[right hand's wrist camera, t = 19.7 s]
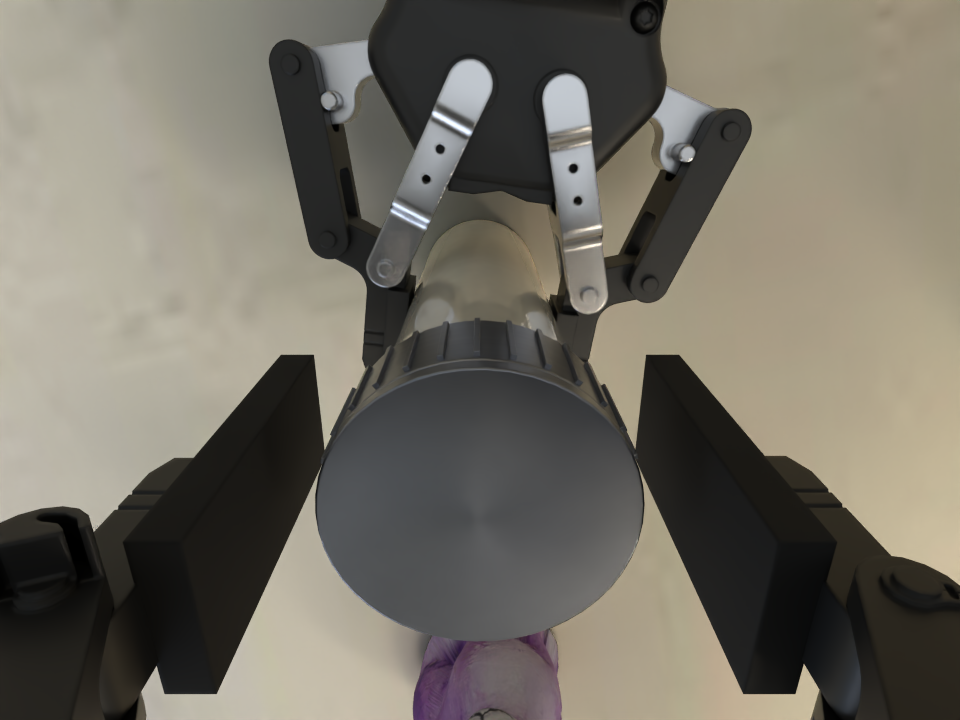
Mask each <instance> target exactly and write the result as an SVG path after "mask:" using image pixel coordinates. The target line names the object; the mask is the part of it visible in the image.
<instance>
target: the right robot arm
mask: <svg viewBox="0 0 960 720" xmlns="http://www.w3.org/2000/svg"><path fill="white" fill-rule="evenodd" d="M324 451H325V450H324V441H323V432H322V423H321V414H320V405H319V397H318V388H317V379H316V370H315V361H314V355H280V357H279V358H278V359H277V360H276V361H275V363H274V364H273V365H272V366H271V367H270V368H269V370H268V371H267V372H266V373H265V374H264V376H263V377H262V378H261V379H260V380H259V381H258V383H257V384H256V385H255V386H254V387H253V388H252V390H251V391H250V392H249V393H248V394H247V396H246V397H245V398H244V399H243V400H242V401H241V403H240V404H239V405H238V406H237V407H236V409H235V410H234V411H233V412H232V413H231V414H230V416H229V417H228V418H227V419H226V420H225V422H224V423H223V424H222V425H221V426H220V427H219V429H218V430H217V431H216V432H215V433H214V435H213V436H212V437H211V438H210V439H209V440H208V442H207V443H206V444H205V445H204V446H203V448H202V449H201V450H200V451H199V452H198V453H197V455H196V456H195V457H194V458H174V459H172V460H170V461H169V462H167V463H165V464H164V465H162V466H160V467H159V468H157V469H155V470H154V471H152V472H150V473H149V474H148V475H147V476H146V477H145V478H144V479H143V480H142V481H141V482H140V484H139V485H138V486H137V487H136V488H135V489H134V490H133V491H132V495H128V496H127V497H126V498H125V500H124V501H123V502H122V503H121V504H120V505H119V506H118V510H114V511H113V512H112V513H111V514H110V516H109V517H108V518H107V519H106V520H105V521H104V522H103V523H102V524H101V525H100V526H99V527H98V528H97V529H96V530H95V532H93V528H92V525H91V522H90V518H89V515H88V514H86V513H85V512H83V511H82V510H80V509H78V508H71V507H63V506H62V507H52V508H43V509H38V510H35V511H31V512H28V513H24V514H20V515H17V516H15V517H13V518H10V519H8V520H6V521H4V522H1V523H0V720H146V710H145V704H144V700H143V697H142V693H141V691H142V689H143V688H144V686H145V684H146V683H147V681H148V679H149V677H150V676H151V674H152V672H153V671H154V669H155V667H156V666H157V668H158V672H159V675H160V679H161V683H162V686H163V690H164V694H217V692H218V690H219V688H220V686H221V683H222V681H223V679H224V677H225V675H226V672H227V670H228V668H229V666H230V664H231V662H232V659H233V657H234V655H235V653H236V651H237V648H238V646H239V644H240V642H241V640H242V638H243V635H244V633H245V631H246V629H247V627H248V625H249V622H250V620H251V618H252V616H253V614H254V611H255V609H256V607H257V605H258V603H259V601H260V598H261V596H262V594H263V592H264V590H265V587H266V585H267V583H268V581H269V579H270V577H271V574H272V572H273V570H274V568H275V566H276V563H277V561H278V559H279V557H280V555H281V553H282V550H283V548H284V546H285V544H286V542H287V540H288V537H289V535H290V533H291V531H292V529H293V526H294V524H295V522H296V520H297V518H298V516H299V513H300V511H301V509H302V507H303V505H304V502H305V500H306V498H307V496H308V494H309V492H310V489H311V487H312V485H313V483H314V481H315V478H316V476H317V474H318V472H319V470H320V468H321V465H322V464H321V463H320V461H321V458H322V455H323V453H324ZM636 452H637V455H638V459H636V461H637V463H638V465H639V468H640V470H641V472H642V474H643V476H644V478H645V481H646V483H647V485H648V487H649V489H650V492H651V494H652V496H653V498H654V500H655V502H656V505H657V507H658V509H659V511H660V513H661V516H662V518H663V520H664V522H665V524H666V526H667V529H668V531H669V533H670V535H671V537H672V540H673V542H674V544H675V546H676V548H677V550H678V553H679V555H680V557H681V559H682V561H683V563H684V566H685V568H686V570H687V572H688V574H689V577H690V579H691V581H692V583H693V585H694V587H695V590H696V592H697V594H698V596H699V598H700V601H701V603H702V605H703V607H704V609H705V611H706V614H707V616H708V618H709V620H710V622H711V625H712V627H713V629H714V631H715V633H716V635H717V638H718V640H719V642H720V644H721V646H722V648H723V651H724V653H725V655H726V657H727V659H728V662H729V664H730V666H731V668H732V670H733V672H734V675H735V677H736V679H737V681H738V683H739V686H740V688H741V690H742V692H743V694H796V690H797V686H798V683H799V679H800V675H801V672H802V668H803V665H804V664H805V666H806V668H807V669H808V671H809V673H810V674H811V676H812V678H813V679H814V681H815V683H816V684H817V686H818V688H819V689H820V690H819V693H818V697H817V700H816V703H815V707H814V710H813V714H812V717H811V720H960V585H958V584H957V583H956V582H954V581H953V580H952V579H950V578H949V577H948V576H946V575H944V574H942V573H940V572H939V571H937V570H935V569H933V568H931V567H929V566H927V565H925V564H921V563H918V562H915V561H912V560H909V559H906V558H903V557H894V556H891V555H890V554H889V553H888V552H887V551H886V550H885V549H884V548H883V547H882V546H881V545H880V543H879V542H878V541H877V540H876V539H875V538H874V537H873V536H872V535H871V534H870V533H869V532H868V531H867V530H866V529H865V528H864V527H863V525H862V524H861V523H860V522H859V521H858V520H857V519H856V518H855V517H854V516H853V515H852V514H851V513H850V512H849V511H848V510H847V508H843V507H842V503H841V502H840V501H839V500H838V499H837V498H836V497H835V496H834V495H833V494H832V493H829V492H828V488H827V487H826V486H825V485H824V484H823V483H822V482H821V481H820V480H819V479H818V478H817V477H816V476H815V475H814V474H813V472H812V471H810V470H808V469H807V468H805V467H803V466H802V465H800V464H798V463H797V462H795V461H793V460H792V459H790V458H788V457H787V456H764V455H763V453H762V452H761V451H760V450H759V449H758V448H757V446H756V445H755V444H754V443H753V442H752V440H751V439H750V438H749V437H748V436H747V435H746V433H745V432H744V431H743V430H742V429H741V427H740V426H739V425H738V424H737V423H736V422H735V420H734V419H733V418H732V417H731V416H730V414H729V413H728V412H727V411H726V410H725V409H724V407H723V406H722V405H721V404H720V403H719V401H718V400H717V399H716V398H715V397H714V396H713V394H712V393H711V392H710V391H709V390H708V388H707V387H706V386H705V385H704V384H703V383H702V381H701V380H700V379H699V378H698V377H697V376H696V374H695V373H694V372H693V371H692V370H691V368H690V367H689V366H688V365H687V364H686V363H685V361H684V360H683V359H682V358H681V357H680V355H646V361H645V370H644V379H643V388H642V397H641V405H640V414H639V423H638V432H637V441H636Z"/></svg>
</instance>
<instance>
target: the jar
mask: <svg viewBox="0 0 960 720" xmlns="http://www.w3.org/2000/svg"><path fill="white" fill-rule="evenodd" d="M474 318H480V320H487V321H497V322H506V320H510V321H512V324H515V325H519V326H523V327H526V328H529V329H532V330H534V331H536V329H537V328H538V329H540V330H542V332H543V334H544V335H546V336H548V337H550V338H552V339H554V340H556V341H557V342H559V343H560V344H562V345H563V344H564V342H563V339H562V337H561V334H560V331H559V329H558V326H557V323H556V321H555V318H554V315H553V313H552V310H551V307H550V305H549V302H548V299H547V297H546V294H545V291H544V289H543V286H542V283H541V281H540V278H539V275H538V273H537V270H536V267H535V265H534V262H533V259H532V257H531V254H530V251H529V249H528V248H527V246H526V244H525V243H524V241H523V240H522V239H521V238H520V237H519V236H518V235H517V234H516V233H515V232H514V231H513V230H511V229H510V228H508V227H506V226H504V225H502V224H500V223H497V222H493V221H488V220H472V221H467V222H463V223H460V224H458V225H456V226H454V227H452V228H450V229H449V230H448V231H446V232H445V233H444V234H443V235H442V236H441V237H440V238H439V239H438V240H437V241H436V243H435V244H434V246H433V248H432V249H431V252H430V254H429V257H428V259H427V262H426V265H425V267H424V270H423V273H422V275H421V278H420V281H419V283H418V286H417V288H416V291H415V294H414V296H413V299H412V302H411V304H410V307H409V310H408V312H407V315H406V318H405V320H404V323H403V326H402V328H401V331H400V334H399V336H398V339H397V342H396V344H395V346H396V345H398V344H399V343H401V342H403V341H404V340H406V339H408V338H409V337H411V336H412V334H413V332H415V331H417V330H418V331H419V333H420V332H423V331H425V330H427V329H430V328H434V327H437V326H441V325H442V324H443V322H445V321H448V322H449V323H455V322H462V321H474Z"/></svg>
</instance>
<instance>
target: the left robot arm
mask: <svg viewBox="0 0 960 720" xmlns="http://www.w3.org/2000/svg"><path fill="white" fill-rule="evenodd" d="M666 4H667V0H387V1H386V4H385V6H384V8H383V10H382V12H381V14H380V16H379V17H378V19H377V21H376V22H375V23H374V25H373V27H372V29H371V32H370V35H369V39H368V40H360V41H353V42H345V43H337V44H330V45H322V46H315V47H310V46H307V45H305V44H302V43H300V42H298V41H295V40H289V39H288V40H283V41H280V42H278V43H277V44H276V45H275V46H274V47H273V49H272V50H271V53H270V57H269V66H270V71H271V75H272V80H273V84H274V89H275V93H276V98H277V102H278V107H279V111H280V116H281V120H282V125H283V129H284V134H285V138H286V143H287V147H288V152H289V156H290V161H291V165H292V170H293V174H294V179H295V183H296V188H297V192H298V197H299V201H300V206H301V210H302V215H303V219H304V224H305V228H306V233H307V237H308V242H309V245H310V247H311V249H312V250H313V251H314V252H315V253H316V254H317V255H318V256H320V257H322V258H325V259H337V260H339V261H341V262H343V263H345V264H347V265H349V266H351V267H353V268H354V269H356V270H357V271H358V272H359V273H360V274H361V275H362V277H363V278H364V280H365V282H366V286H367V299H366V313H365V328H364V330H365V331H364V344H363V356H362V360H363V362H364V365H365V368H366V367H367V366H368V365H370V366H373V365H374V364H375V363H376V362H377V361H378V360H379V359H380V358H381V357H382V356H383V355H384V354H385V352H386V350H387V348H388V347H389V346H390V345H392V347H395V344H396V342H397V339H398V336H399V334H400V331H401V328H402V326H403V323H404V320H405V318H406V315H407V312H408V310H409V307H410V304H411V302H412V299H413V296H414V294H415V285H416V276H414V275H410V273H411V262H412V259H413V257H414V255H415V253H416V251H417V249H418V247H419V244H420V242H421V240H422V238H423V236H424V234H425V232H426V230H427V228H428V226H429V223H430V221H431V219H432V217H433V215H434V213H435V211H436V209H437V207H438V205H439V202H440V200H441V198H442V196H443V194H444V192H445V190H446V188H447V187H449V189H448V190H449V191H456V192H463V193H470V194H478V193H486V192H494V191H504V192H506V193H508V194H510V195H513V196H515V197H517V198H520V199H522V200H524V201H526V202H533V203H540V204H547V207H548V213H549V219H550V224H551V228H552V232H553V237H554V243H555V250H556V256H557V262H558V269H559V275H560V284H559V289H558V294H557V295H551V294H550V299H549V305H550V307H551V310H552V313H553V315H554V318H555V321H556V323H557V326H558V329H559V331H560V334H561V337H562V339H563V342H564V343H566V344H568V345H569V347H570V350H571V351H572V352H573V353H574V354H575V355H576V356H577V357H578V358H579V359H580V360H582V361H583V362H584V363H586V362H587V361H588V359H589V355H590V351H591V346H592V342H593V337H594V333H595V328H596V324H597V320H598V318H599V316H600V314H601V313H602V312H603V311H604V310H605V309H606V308H608V307H609V306H611V305H613V304H617V303H621V302H626V301H631V300H636V299H637V300H638V301H640V302H644V303H651V302H655V301H657V300H659V299H660V298H662V297H663V296H664V295H665V293H666V292H667V290H668V288H669V286H670V284H671V282H672V281H673V279H674V277H675V275H676V273H677V271H678V270H679V268H680V266H681V264H682V262H683V260H684V258H685V257H686V255H687V253H688V251H689V249H690V247H691V246H692V244H693V242H694V240H695V238H696V236H697V234H698V233H699V231H700V229H701V227H702V225H703V223H704V222H705V220H706V218H707V216H708V214H709V212H710V210H711V209H712V207H713V205H714V203H715V201H716V199H717V198H718V196H719V194H720V192H721V190H722V188H723V186H724V185H725V183H726V181H727V179H728V177H729V175H730V174H731V172H732V170H733V168H734V166H735V164H736V162H737V161H738V159H739V157H740V155H741V153H742V151H743V150H744V148H745V146H746V144H747V142H748V140H749V138H750V135H751V131H752V125H751V121H750V118H749V117H748V115H747V114H746V113H745V112H743V111H741V110H739V109H728V108H713V107H711V106H709V105H707V104H705V103H703V102H701V101H698V100H696V99H694V98H692V97H690V96H688V95H686V94H684V93H682V92H679V91H677V90H675V89H673V88H671V87H669V86H667V75H666V69H665V66H664V62H663V58H662V53H661V43H660V36H661V26H662V21H663V17H664V13H665V8H666ZM374 78H376V80H377V82H378V84H379V85H380V87H381V89H382V91H383V93H384V95H385V96H386V98H387V100H388V102H389V104H390V106H391V107H392V109H393V111H394V113H395V115H396V117H397V118H398V120H399V122H400V124H401V126H402V128H403V130H404V131H405V133H406V135H407V137H408V139H409V141H410V142H411V144H412V146H413V148H414V150H415V152H414V154H413V157H412V159H411V161H410V163H409V166H408V168H407V170H406V172H405V175H404V177H403V179H402V181H401V183H400V186H399V188H398V190H397V192H396V195H395V197H394V199H393V202H392V204H391V208H390V211H389V213H388V216H387V218H386V220H385V222H384V224H383V227H382V229H380V228H378V227H377V226H375V225H373V224H371V223H369V222H367V221H365V220H363V219H361V214H360V208H359V203H358V198H357V192H356V187H355V182H354V176H353V171H352V165H351V160H350V155H349V149H348V144H347V139H346V133H345V128H344V124H346V123H349V122H351V121H353V120H354V119H355V118H356V117H357V116H358V114H359V112H360V109H361V93H362V90H363V88H364V86H365V85H366V83H367V82H368V81H370V80H371V79H374ZM648 120H649V121H650V122H651V124H652V125H653V128H654V131H655V140H654V144H653V147H652V152H651V155H652V160H653V162H654V164H655V165H656V166H657V167H658V168H659V169H661V170H660V172H659V174H658V176H657V178H656V180H655V182H654V184H653V186H652V188H651V190H650V192H649V194H648V196H647V198H646V200H645V202H644V204H643V206H642V208H641V210H640V212H639V214H638V216H637V218H636V220H635V222H634V224H633V226H632V228H631V230H630V233H629V235H628V237H627V239H626V241H625V243H624V245H623V247H622V249H621V251H620V253H619V255H615V256H610V257H605V258H604V255H603V247H602V236H603V225H602V217H601V209H600V201H599V193H598V185H597V177H596V173H597V172H598V171H599V170H600V169H601V168H602V167H603V166H604V165H605V164H606V163H607V162H608V161H609V160H610V159H611V158H612V157H613V156H614V155H615V153H616V152H617V151H618V150H619V149H620V148H621V147H622V146H623V145H624V144H625V143H626V142H627V141H628V140H629V139H630V138H631V137H632V136H633V135H634V134H635V133H636V132H637V131H638V130H639V129H640V128H641V127H642V126H643V125H644V124H645V123H646V122H647V121H648Z"/></svg>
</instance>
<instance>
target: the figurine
mask: <svg viewBox="0 0 960 720" xmlns="http://www.w3.org/2000/svg"><path fill="white" fill-rule="evenodd" d="M557 672H558V649H557V643H556V640H555V638H554V637H553V635H552V633H551V631H550V630H549V629H547V630H544V631H541V632H538V633H535V634H532V635H527V636H523V637H518V638H514V639H506V640H498V641H462V640H453V639H447V638H441V637H436V636H432V637H431V639H430V641H429V643H428V647H427V649H426V652H425V654H424V658H423V663H422V668H421V672H420V676H419V679H418V682H417V685H416V688H415V692H414V701H413V718H414V720H562V718H561V711H562V703H561V695H560V689H559V683H558V678H557Z"/></svg>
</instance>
